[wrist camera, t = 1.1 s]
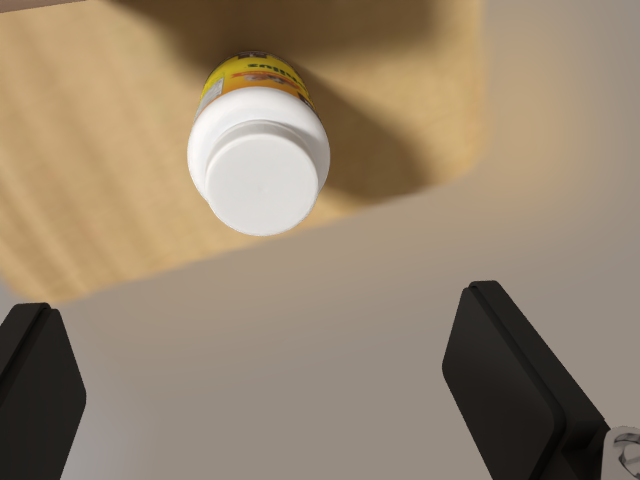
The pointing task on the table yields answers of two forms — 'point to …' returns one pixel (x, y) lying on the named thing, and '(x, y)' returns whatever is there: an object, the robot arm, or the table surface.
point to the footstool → (29, 4)
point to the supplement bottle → (258, 145)
